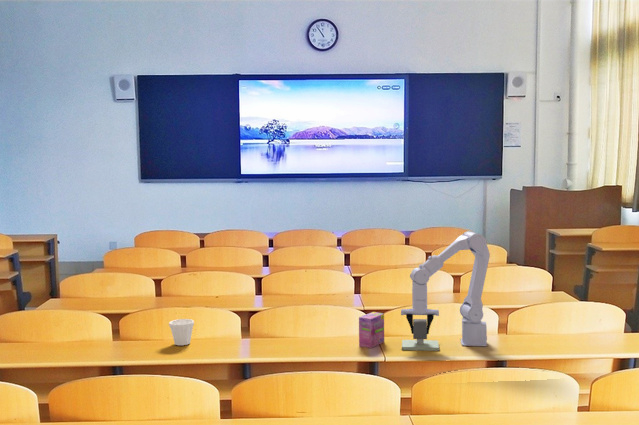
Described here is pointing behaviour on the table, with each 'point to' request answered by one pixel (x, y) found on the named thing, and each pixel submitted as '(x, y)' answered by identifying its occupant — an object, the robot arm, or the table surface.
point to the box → (371, 329)
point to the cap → (419, 328)
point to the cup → (181, 331)
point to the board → (412, 345)
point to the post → (420, 341)
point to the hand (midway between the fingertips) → (420, 333)
